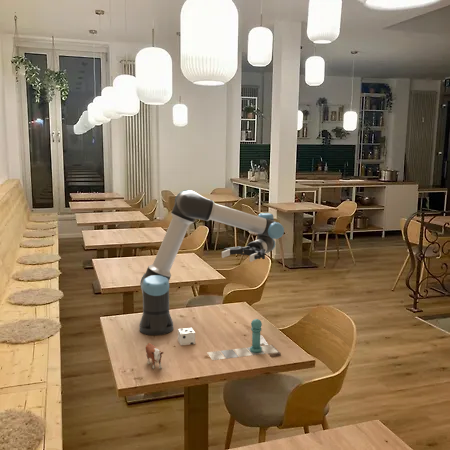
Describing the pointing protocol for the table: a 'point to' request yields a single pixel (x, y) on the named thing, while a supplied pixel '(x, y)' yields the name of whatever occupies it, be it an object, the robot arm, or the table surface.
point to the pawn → (256, 336)
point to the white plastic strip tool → (263, 340)
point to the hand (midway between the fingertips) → (236, 256)
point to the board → (243, 352)
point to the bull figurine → (153, 355)
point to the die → (186, 336)
